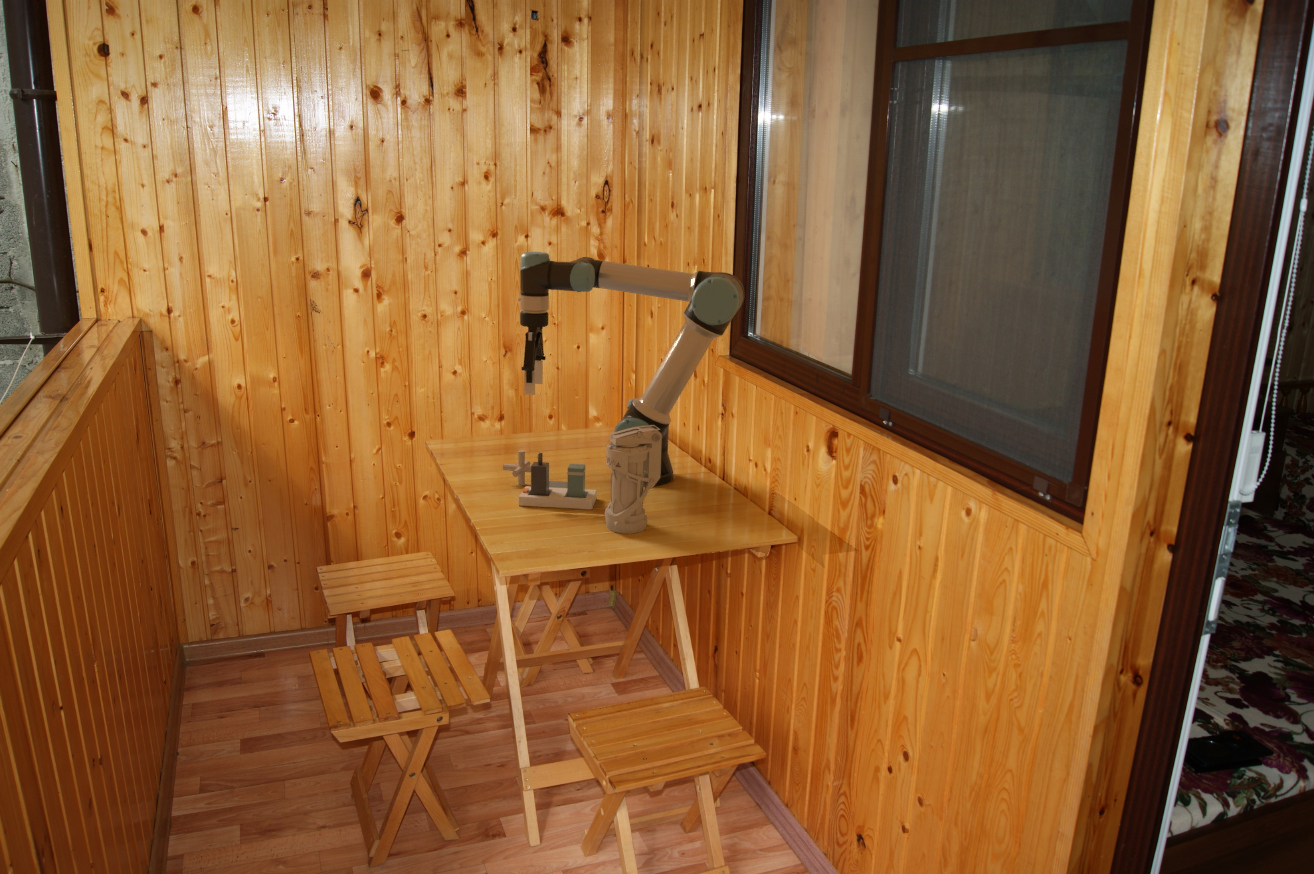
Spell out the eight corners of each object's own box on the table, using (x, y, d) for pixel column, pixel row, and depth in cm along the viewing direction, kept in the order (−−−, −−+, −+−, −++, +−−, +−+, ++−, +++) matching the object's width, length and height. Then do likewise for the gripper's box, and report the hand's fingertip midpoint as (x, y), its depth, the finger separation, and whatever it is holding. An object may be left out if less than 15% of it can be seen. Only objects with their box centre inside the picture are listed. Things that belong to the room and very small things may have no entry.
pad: (583, 484, 289) (583, 482, 289) (577, 495, 279) (577, 493, 279) (547, 482, 289) (547, 480, 289) (541, 493, 280) (541, 491, 280)
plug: (584, 500, 273) (585, 464, 270) (582, 505, 269) (583, 468, 266) (569, 499, 273) (569, 463, 271) (567, 504, 269) (567, 468, 267)
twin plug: (548, 498, 274) (549, 451, 270) (546, 503, 270) (546, 455, 266) (533, 498, 274) (534, 450, 270) (531, 502, 270) (531, 454, 267)
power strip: (596, 500, 275) (596, 488, 274) (591, 511, 267) (592, 498, 266) (525, 496, 277) (525, 484, 276) (518, 507, 268) (518, 494, 267)
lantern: (612, 535, 250) (614, 435, 244) (599, 521, 260) (601, 424, 253) (662, 530, 255) (666, 432, 248) (648, 517, 264) (651, 421, 258)
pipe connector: (533, 493, 280) (533, 457, 277) (498, 489, 282) (497, 454, 279) (544, 482, 289) (544, 447, 287) (510, 479, 291) (510, 444, 289)
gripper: (527, 304, 289) (527, 378, 294) (512, 317, 264) (511, 398, 270) (554, 305, 288) (553, 380, 294) (541, 318, 264) (540, 399, 270)
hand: (533, 389), depth 282 cm, fingers open, 13 cm apart
